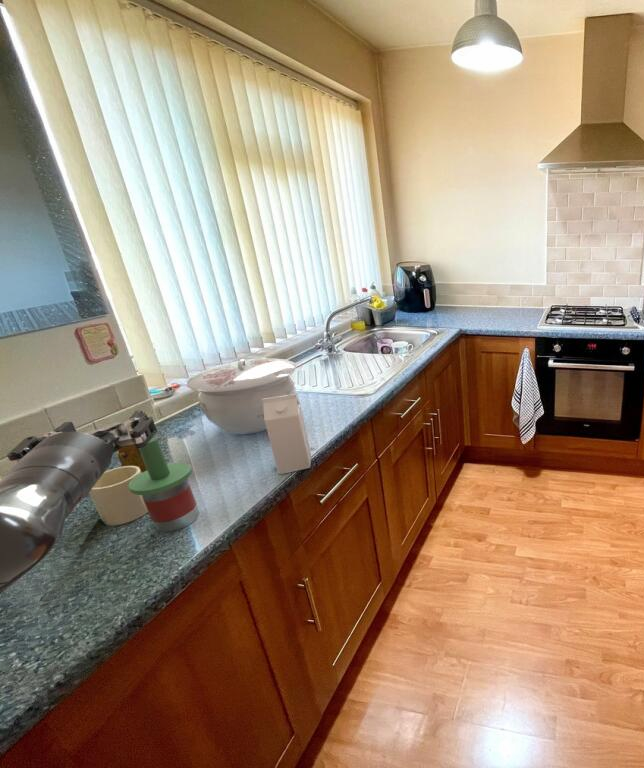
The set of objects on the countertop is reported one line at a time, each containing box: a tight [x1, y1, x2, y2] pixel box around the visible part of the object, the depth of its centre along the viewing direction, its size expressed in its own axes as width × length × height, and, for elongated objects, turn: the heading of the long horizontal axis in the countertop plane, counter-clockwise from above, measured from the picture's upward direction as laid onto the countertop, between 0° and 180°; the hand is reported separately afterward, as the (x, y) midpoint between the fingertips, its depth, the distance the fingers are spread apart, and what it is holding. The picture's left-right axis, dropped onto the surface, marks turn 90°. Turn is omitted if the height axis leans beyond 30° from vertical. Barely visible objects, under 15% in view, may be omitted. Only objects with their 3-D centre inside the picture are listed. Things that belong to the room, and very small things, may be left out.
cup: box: [88, 466, 149, 526], centre depth 84 cm, size 8×8×9 cm
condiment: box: [116, 444, 147, 473], centre depth 94 cm, size 7×8×12 cm
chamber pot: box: [186, 357, 297, 435], centre depth 120 cm, size 28×28×21 cm
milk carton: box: [262, 393, 312, 475], centre depth 99 cm, size 7×7×19 cm
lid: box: [129, 436, 193, 495], centre depth 78 cm, size 10×10×9 cm
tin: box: [142, 479, 200, 533], centre depth 82 cm, size 7×7×10 cm
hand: (107, 421), depth 64 cm, fingers open, 8 cm apart
